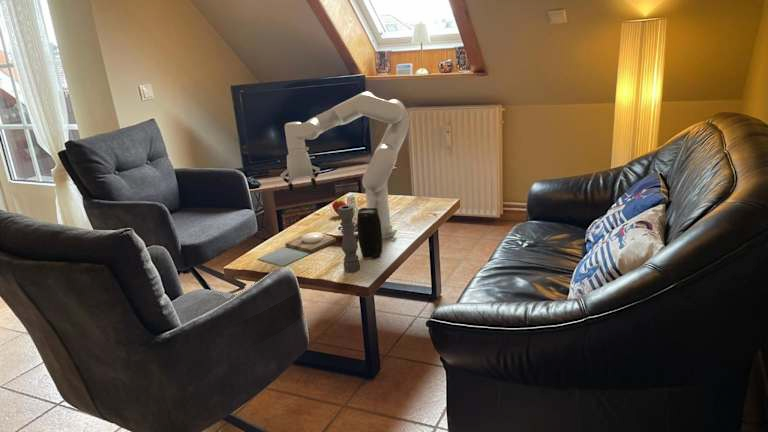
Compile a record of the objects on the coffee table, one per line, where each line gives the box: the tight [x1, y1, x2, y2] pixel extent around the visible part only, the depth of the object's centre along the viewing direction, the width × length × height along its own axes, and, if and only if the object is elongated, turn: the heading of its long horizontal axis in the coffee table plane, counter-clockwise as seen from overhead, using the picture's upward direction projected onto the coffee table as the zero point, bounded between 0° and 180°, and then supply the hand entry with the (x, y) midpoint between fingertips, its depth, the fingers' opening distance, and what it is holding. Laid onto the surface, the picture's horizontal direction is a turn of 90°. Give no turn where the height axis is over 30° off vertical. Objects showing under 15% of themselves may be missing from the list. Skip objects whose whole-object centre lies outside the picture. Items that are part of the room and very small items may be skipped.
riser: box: [284, 232, 337, 254], centre depth 242 cm, size 16×15×2 cm
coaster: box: [301, 231, 324, 243], centre depth 242 cm, size 9×9×2 cm
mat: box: [257, 246, 311, 267], centre depth 231 cm, size 16×15×1 cm
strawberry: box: [332, 196, 347, 216], centre depth 276 cm, size 6×8×10 cm
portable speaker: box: [356, 207, 383, 260], centre depth 220 cm, size 9×9×20 cm
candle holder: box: [337, 204, 361, 274], centre depth 208 cm, size 6×6×25 cm
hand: (303, 189), depth 242 cm, fingers open, 9 cm apart
